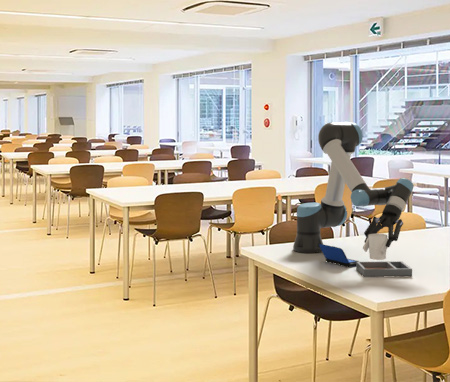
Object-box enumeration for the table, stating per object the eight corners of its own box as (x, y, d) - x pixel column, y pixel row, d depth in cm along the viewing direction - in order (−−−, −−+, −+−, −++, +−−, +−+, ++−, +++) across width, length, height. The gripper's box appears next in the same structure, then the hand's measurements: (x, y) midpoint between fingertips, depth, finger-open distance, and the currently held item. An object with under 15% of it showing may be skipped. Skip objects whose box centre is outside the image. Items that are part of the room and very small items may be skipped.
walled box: (363, 277, 275) (364, 269, 274) (356, 268, 290) (356, 261, 289) (412, 276, 275) (412, 269, 275) (401, 268, 290) (402, 261, 290)
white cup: (387, 260, 277) (387, 236, 276) (368, 260, 278) (368, 236, 277) (386, 256, 284) (387, 233, 283) (368, 256, 286) (368, 233, 285)
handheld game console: (364, 265, 297) (364, 245, 296) (341, 269, 290) (342, 248, 289) (340, 259, 310) (340, 240, 309) (318, 263, 303) (318, 243, 302)
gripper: (418, 216, 283) (398, 259, 273) (376, 212, 298) (355, 253, 288) (412, 205, 279) (392, 248, 269) (369, 201, 293) (349, 242, 283)
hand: (373, 251), depth 278 cm, fingers closed on white cup, 8 cm apart
